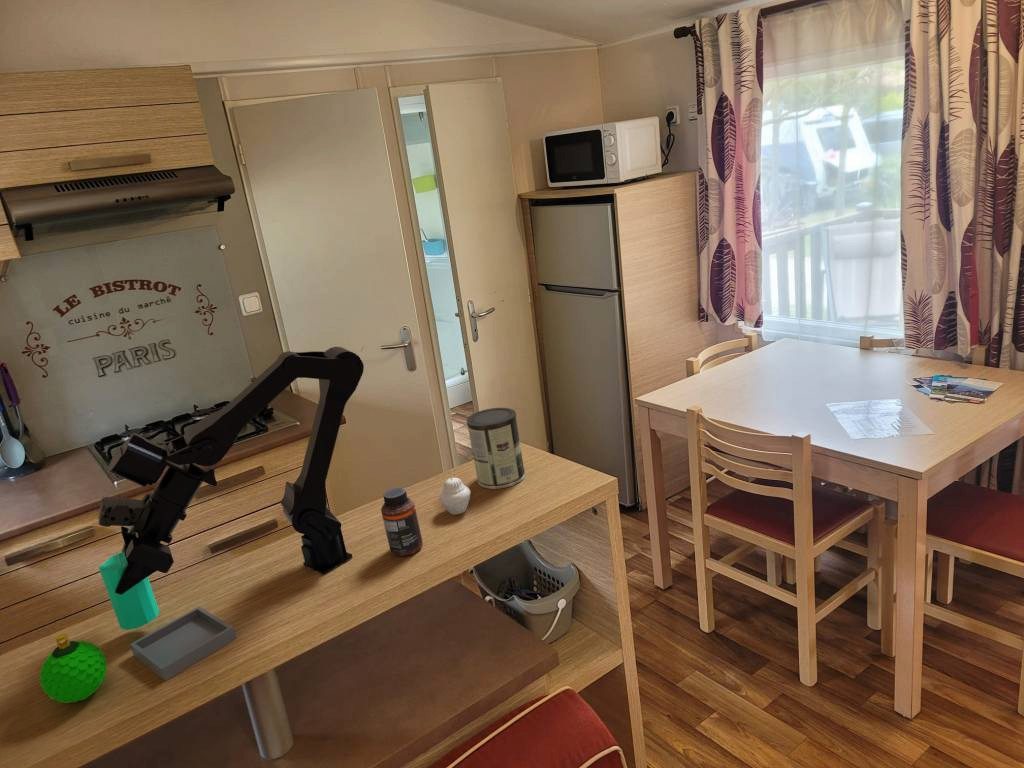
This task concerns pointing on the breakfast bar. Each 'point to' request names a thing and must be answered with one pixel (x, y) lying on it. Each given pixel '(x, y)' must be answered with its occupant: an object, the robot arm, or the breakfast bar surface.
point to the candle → (128, 595)
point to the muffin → (454, 496)
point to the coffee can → (496, 447)
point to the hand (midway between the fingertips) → (117, 585)
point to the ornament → (72, 670)
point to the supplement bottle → (401, 523)
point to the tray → (182, 642)
